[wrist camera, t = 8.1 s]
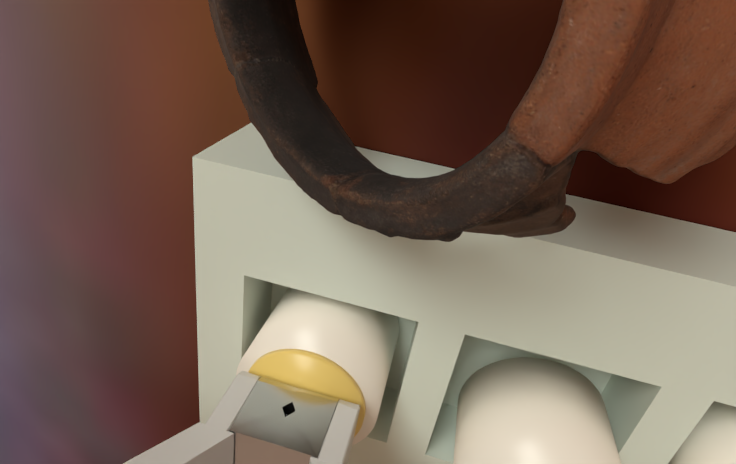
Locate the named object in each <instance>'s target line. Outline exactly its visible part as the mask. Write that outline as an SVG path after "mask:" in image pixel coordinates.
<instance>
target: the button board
mask: <svg viewBox="0 0 736 464" xmlns="http://www.w3.org/2000/svg"><path fill="white" fill-rule="evenodd" d="M355 147H356V146H355ZM356 149H357V150H358V151H359V152H360V153H361V154H362V155H363V156H364V157H366V158H367V159H368V160H369V161H370V162H371V163H372V164H373V165H375V166H376V167H377V168H378V169H381V170H382V171H384V172H386V173H389V174H391V175H397V176H401V177H406V178H426V177H432V176H438V175H441V174H445V173H447V172H450V171H452V170H454V169H453V168H449V167H444V166H440V165H435V164H431V163H427V162H422V161H418V160H413V159H409V158H404V157H400V156H396V155H391V154H387V153H382V152H378V151H373V150H369V149H365V148H360V147H356ZM193 191H194V228H195V264H196V300H197V336H198V372H199V409H200V423H204V424H205V423H206V422H207V420H208V419H209V417H210V416H211V414H212V412H213V411H214V409H215V408H216V406H217V405H218V403H219V402H220V400H221V399H222V397H223V395H224V394H225V392H226V391H227V389H228V388H229V386H230V385H231V383H232V381H233V380H234V378H235V377H236V373H237V368H238V365H239V363H240V361H241V359H242V357H243V356H244V354H245V353H246V351H247V350H248V348H249V347H250V345H251V344H252V342H253V340H254V339H255V337H256V336H257V334H258V333H259V331H260V330H261V328H262V327H263V325H264V324H265V322H266V321H267V319H268V318H269V316H270V315H271V313H272V312H273V310H274V309H275V307H276V306H277V304H278V303H279V301H280V300H281V298H282V297H283V295H284V294H285V292H286V290H287V289H288V288H289V287H290V288H294V289H297V290H301V291H305V292H309V293H312V294H316V295H320V296H323V297H327V298H331V299H335V300H338V301H342V302H346V303H350V304H353V305H357V306H361V307H365V308H368V309H372V310H376V311H380V312H383V313H387V314H391V315H394V316H397V318H398V323H399V334H398V339H397V343H396V347H395V351H394V355H393V359H392V363H391V367H390V371H389V375H388V378H387V382H386V386H385V390H384V394H383V398H382V402H381V406H380V410H379V414H378V418H377V421H376V424H375V426H374V428H373V429H372V431H371V432H370V433H369V435H368V436H367V437H365V438H364V439H363V440H362V441H360V442H358V443H356V444H354V445H352V447H351V452H350V456H349V460H348V463H347V464H453V461H454V447H455V433H456V419H457V405H458V397H459V393H460V390H461V388H462V386H463V385H464V383H465V382H466V380H467V379H468V378H469V377H470V376H471V375H472V374H474V373H475V372H476V371H478V370H479V369H481V368H483V367H484V366H486V365H489V364H491V363H493V362H497V361H500V360H504V359H510V358H519V357H533V358H541V359H547V360H551V361H555V362H558V363H561V364H564V365H566V366H568V367H571V368H573V369H574V370H576V371H578V372H579V373H581V374H582V375H584V376H585V377H586V378H588V379H589V380H590V381H591V382H592V383H593V384H594V385H595V387H596V388H597V389H598V391H599V392H600V394H601V396H602V398H603V401H604V404H605V407H606V411H607V414H608V418H609V422H610V425H611V429H612V432H613V436H614V439H615V443H616V447H617V450H618V454H619V457H620V461H621V464H668V463H669V461H670V460H671V459H672V457H673V456H674V455H675V453H676V452H677V451H678V449H679V448H680V447H681V445H682V444H683V442H684V441H685V440H686V438H687V437H688V436H689V434H690V433H691V432H692V430H693V429H694V428H695V426H696V425H697V423H698V422H699V421H700V419H701V418H702V417H703V415H704V414H705V413H706V411H707V410H708V409H709V407H710V406H711V404H712V403H713V402H714V401H716V402H719V403H723V404H727V405H731V406H734V407H736V232H731V231H727V230H723V229H718V228H714V227H709V226H705V225H700V224H696V223H692V222H687V221H683V220H678V219H674V218H670V217H665V216H661V215H656V214H652V213H647V212H643V211H639V210H634V209H630V208H625V207H621V206H617V205H612V204H608V203H603V202H599V201H594V200H590V199H586V198H581V197H577V196H572V195H568V194H566V204H565V205H569V206H570V207H572V208H573V209H574V211H575V213H576V217H575V219H574V221H573V222H572V223H571V224H570V225H569V226H568V227H567V228H566V229H564V230H563V231H560V232H557V233H553V234H548V235H540V236H532V237H523V238H514V237H509V236H505V235H492V234H483V233H470V232H464V231H463V232H462V234H461V235H460V237H459V238H457V239H455V240H453V241H451V242H444V241H440V240H415V239H409V238H405V237H400V236H396V237H388V236H386V235H383V234H381V233H379V232H377V231H375V230H369V229H366V228H364V227H362V226H359V225H356V224H353V223H351V222H348V221H346V220H345V219H344V218H343V217H342V216H341V215H336V214H332V213H330V212H329V211H327V210H326V209H325V208H324V207H323V206H321V205H320V204H319V203H318V202H317V201H315V200H314V199H311V198H310V197H309V196H308V195H307V194H306V193H305V192H303V190H302V189H301V188H300V187H299V186H297V184H296V183H295V181H294V180H293V179H292V178H291V177H290V176H289V174H288V173H287V172H286V171H285V170H284V169H283V167H282V166H281V165H280V164H279V163H278V162H277V161H276V159H275V158H274V156H273V154H272V153H271V151H270V150H269V148H268V146H267V144H266V142H265V141H264V139H263V137H262V136H261V134H260V133H259V132H258V131H257V129H256V128H255V127H254V125H253V124H252V123H250V124H248V125H247V126H245V127H243V128H241V129H240V130H238V131H236V132H235V133H233V134H231V135H229V136H228V137H226V138H224V139H222V140H221V141H219V142H217V143H216V144H214V145H212V146H210V147H209V148H207V149H205V150H204V151H202V152H200V153H198V154H197V155H195V156H193Z"/></svg>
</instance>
